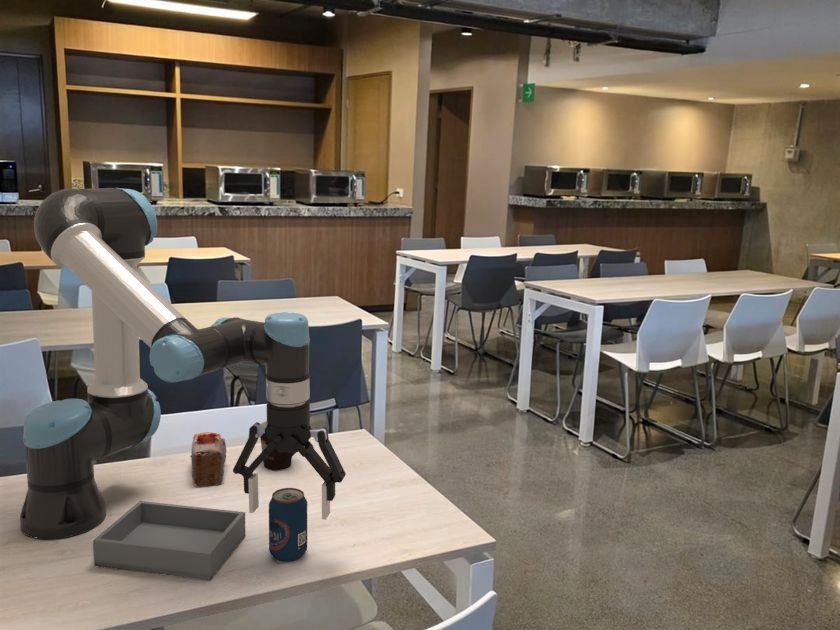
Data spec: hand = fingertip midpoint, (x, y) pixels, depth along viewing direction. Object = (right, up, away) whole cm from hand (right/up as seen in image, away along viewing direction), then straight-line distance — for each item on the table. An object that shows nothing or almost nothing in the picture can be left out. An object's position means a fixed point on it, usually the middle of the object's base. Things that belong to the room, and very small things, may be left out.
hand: (289, 513), depth 131 cm
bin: (-22, -7, +2) cm, 23 cm away
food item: (-25, -1, +35) cm, 43 cm away
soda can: (-1, -8, +2) cm, 9 cm away
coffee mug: (-10, 0, +40) cm, 41 cm away
